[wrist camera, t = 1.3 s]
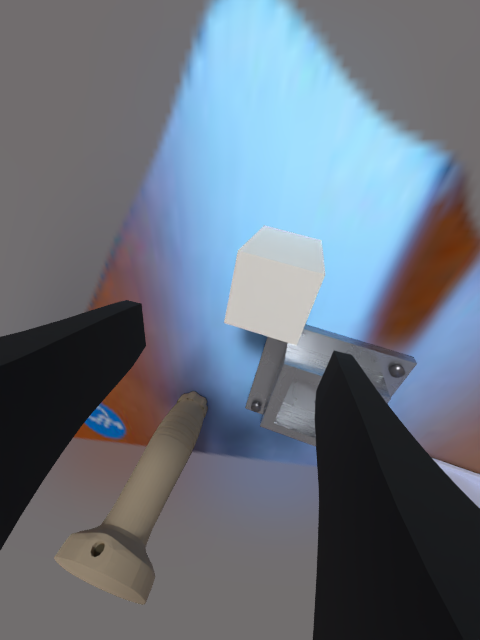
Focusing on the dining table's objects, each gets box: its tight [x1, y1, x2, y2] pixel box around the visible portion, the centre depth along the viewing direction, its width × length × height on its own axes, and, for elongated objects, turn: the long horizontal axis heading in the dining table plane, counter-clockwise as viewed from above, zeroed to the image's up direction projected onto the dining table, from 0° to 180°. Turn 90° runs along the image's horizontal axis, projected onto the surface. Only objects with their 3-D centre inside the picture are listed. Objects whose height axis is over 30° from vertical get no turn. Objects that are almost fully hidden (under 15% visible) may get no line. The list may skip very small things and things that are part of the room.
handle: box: [54, 391, 208, 605], centre depth 22 cm, size 5×6×15 cm
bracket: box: [245, 324, 417, 446], centre depth 21 cm, size 11×11×4 cm
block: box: [224, 225, 325, 346], centre depth 15 cm, size 4×4×7 cm
